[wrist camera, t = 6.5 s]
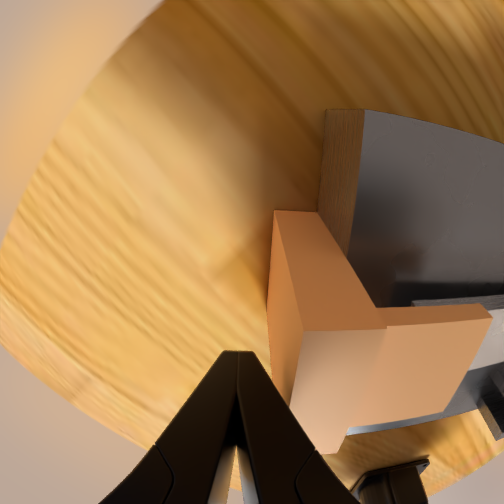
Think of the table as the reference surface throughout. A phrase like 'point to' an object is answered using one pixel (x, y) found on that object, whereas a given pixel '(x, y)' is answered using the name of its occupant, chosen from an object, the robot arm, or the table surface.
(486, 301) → the strap
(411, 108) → the table surface
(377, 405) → the tan piece
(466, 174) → the slotted grey stand
